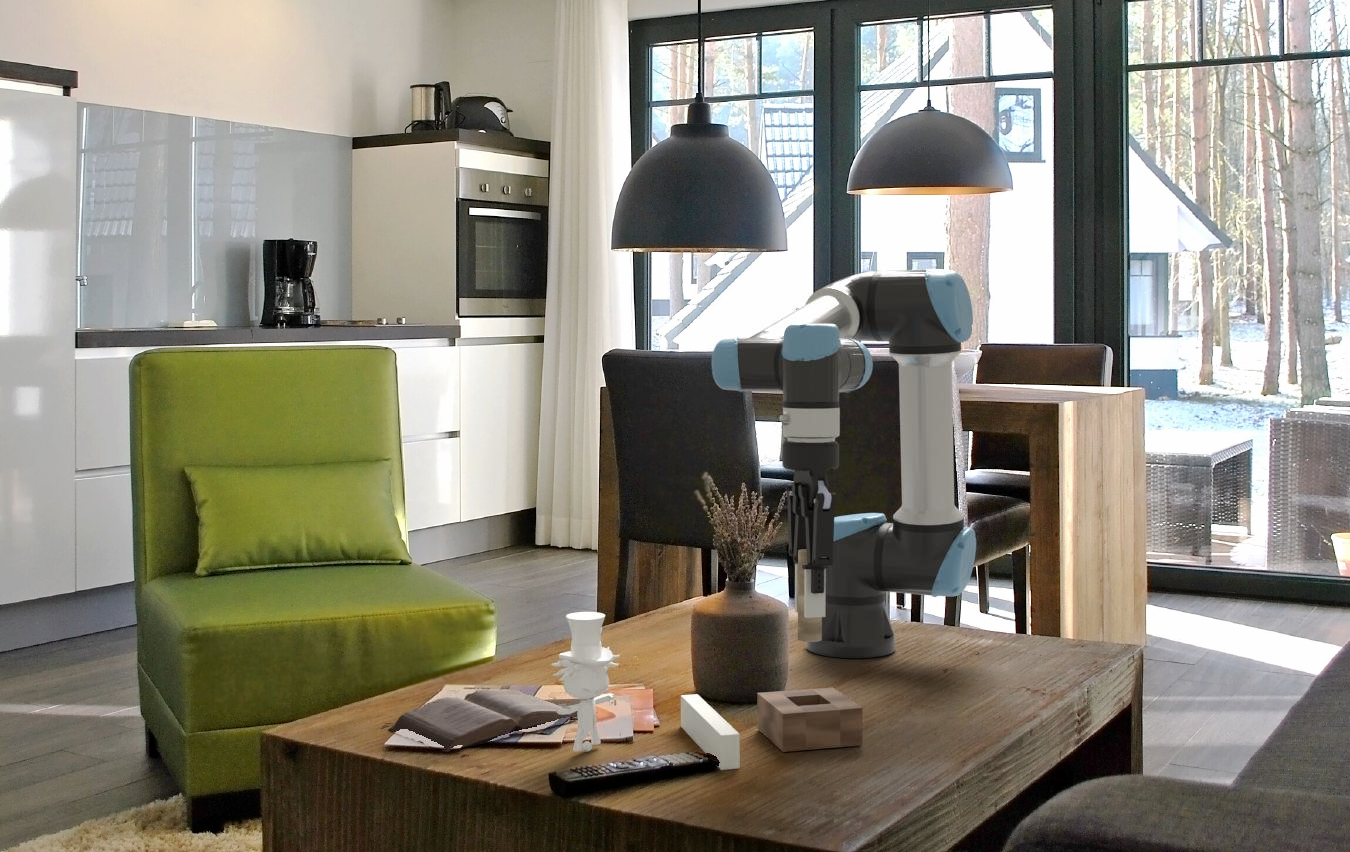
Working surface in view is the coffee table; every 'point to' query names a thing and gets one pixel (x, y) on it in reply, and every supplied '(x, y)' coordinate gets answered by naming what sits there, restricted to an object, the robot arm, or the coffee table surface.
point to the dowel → (806, 626)
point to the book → (477, 717)
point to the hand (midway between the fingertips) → (809, 613)
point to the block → (809, 719)
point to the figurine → (586, 674)
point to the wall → (710, 731)
